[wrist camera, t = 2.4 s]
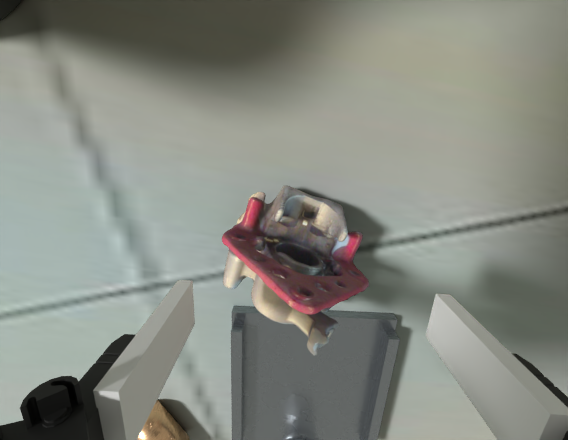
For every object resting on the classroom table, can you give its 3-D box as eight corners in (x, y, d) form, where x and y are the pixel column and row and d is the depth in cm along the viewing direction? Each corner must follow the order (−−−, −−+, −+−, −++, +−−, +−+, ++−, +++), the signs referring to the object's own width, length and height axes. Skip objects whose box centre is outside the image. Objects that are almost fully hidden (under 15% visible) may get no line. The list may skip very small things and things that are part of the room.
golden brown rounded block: (138, 406, 31) (121, 439, 28) (164, 395, 31) (149, 428, 27) (168, 438, 33) (155, 474, 29) (193, 429, 32) (182, 464, 29)
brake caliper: (395, 191, 21) (403, 361, 14) (336, 252, 30) (324, 374, 23) (254, 141, 20) (186, 298, 13) (237, 220, 29) (192, 338, 22)
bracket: (233, 305, 27) (216, 362, 20) (393, 313, 27) (428, 372, 20) (234, 457, 34) (222, 537, 27) (362, 462, 34) (381, 543, 27)
